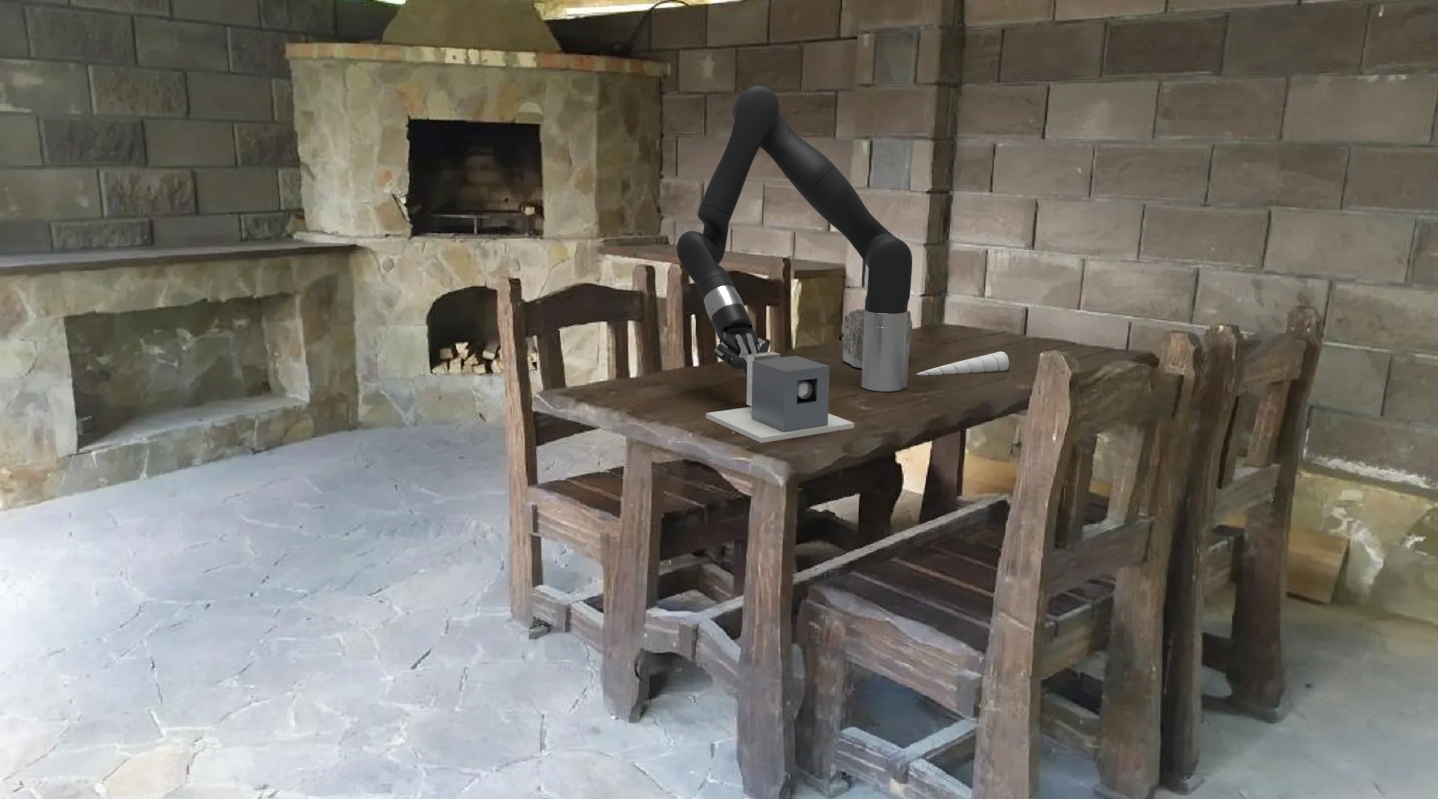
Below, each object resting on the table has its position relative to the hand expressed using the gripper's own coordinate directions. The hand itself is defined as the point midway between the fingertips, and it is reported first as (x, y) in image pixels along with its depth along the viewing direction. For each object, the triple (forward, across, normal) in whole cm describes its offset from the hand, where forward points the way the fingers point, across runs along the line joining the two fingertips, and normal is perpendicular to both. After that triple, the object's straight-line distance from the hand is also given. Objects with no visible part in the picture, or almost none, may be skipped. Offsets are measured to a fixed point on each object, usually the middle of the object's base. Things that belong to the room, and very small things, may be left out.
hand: (758, 383), depth 204 cm
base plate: (+10, 0, -1) cm, 10 cm away
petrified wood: (-15, +53, +24) cm, 60 cm away
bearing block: (+12, 0, -4) cm, 12 cm away
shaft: (+9, 0, -3) cm, 9 cm away
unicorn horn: (-2, +64, +12) cm, 65 cm away
